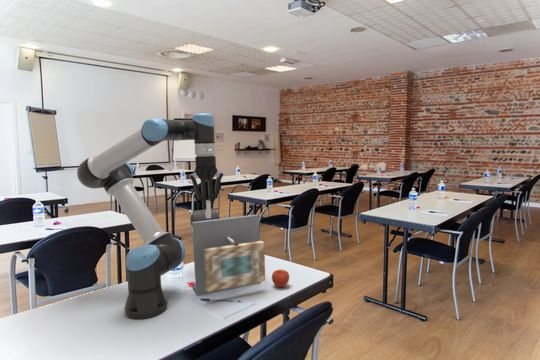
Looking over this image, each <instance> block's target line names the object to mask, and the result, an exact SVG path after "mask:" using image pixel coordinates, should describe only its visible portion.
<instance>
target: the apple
mask: <svg viewBox="0 0 540 360" xmlns="http://www.w3.org/2000/svg"><path fill="white" fill-rule="evenodd" d="M271 280H272V283H273V285H275V286H276V287H277V288H285V287H286V286H287V285H288V284H289V282H290V281H289V280H290V274H289V272H288V271H287V269H286V270H285V269H277V270H274V271H273V272H272V274H271Z"/></svg>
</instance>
